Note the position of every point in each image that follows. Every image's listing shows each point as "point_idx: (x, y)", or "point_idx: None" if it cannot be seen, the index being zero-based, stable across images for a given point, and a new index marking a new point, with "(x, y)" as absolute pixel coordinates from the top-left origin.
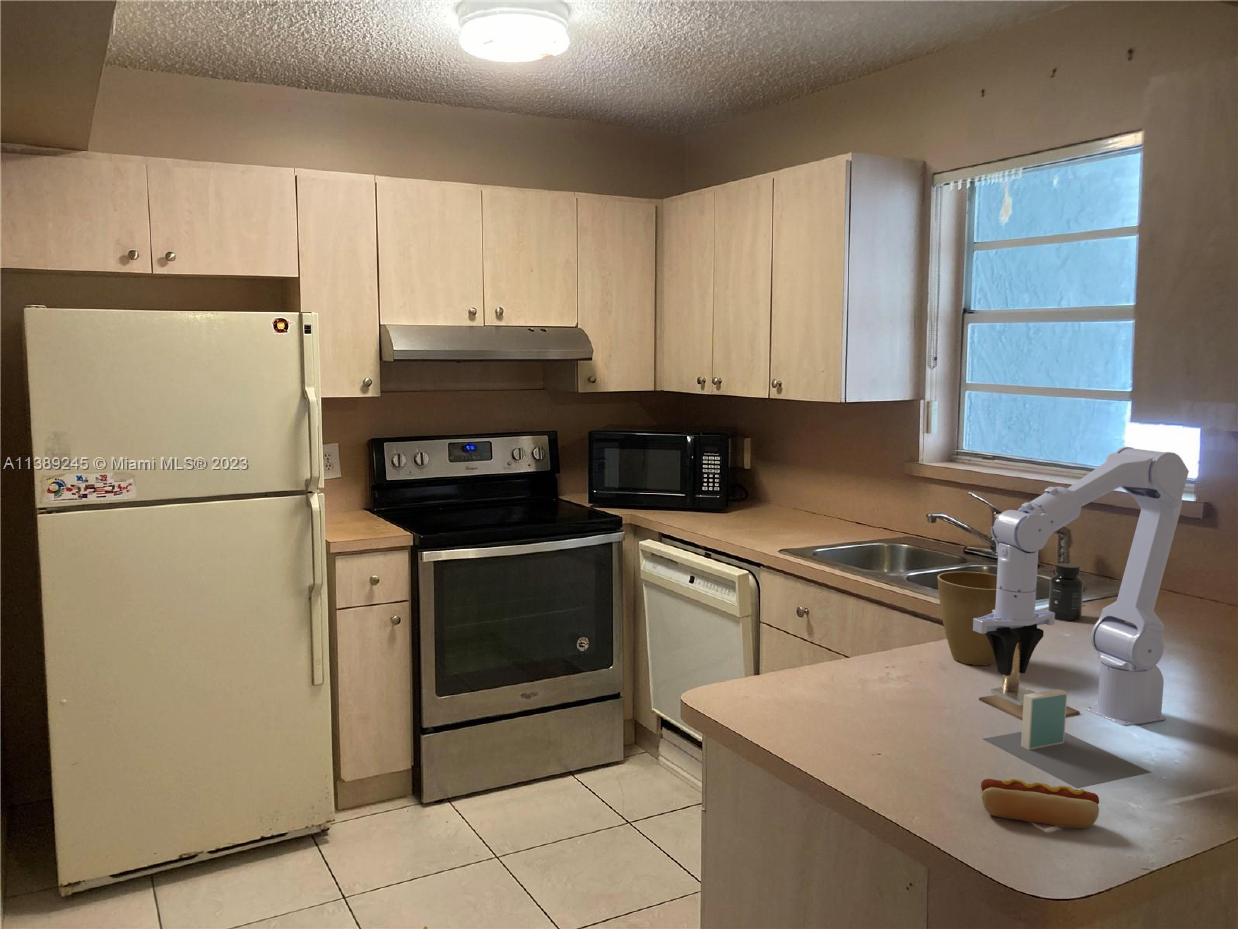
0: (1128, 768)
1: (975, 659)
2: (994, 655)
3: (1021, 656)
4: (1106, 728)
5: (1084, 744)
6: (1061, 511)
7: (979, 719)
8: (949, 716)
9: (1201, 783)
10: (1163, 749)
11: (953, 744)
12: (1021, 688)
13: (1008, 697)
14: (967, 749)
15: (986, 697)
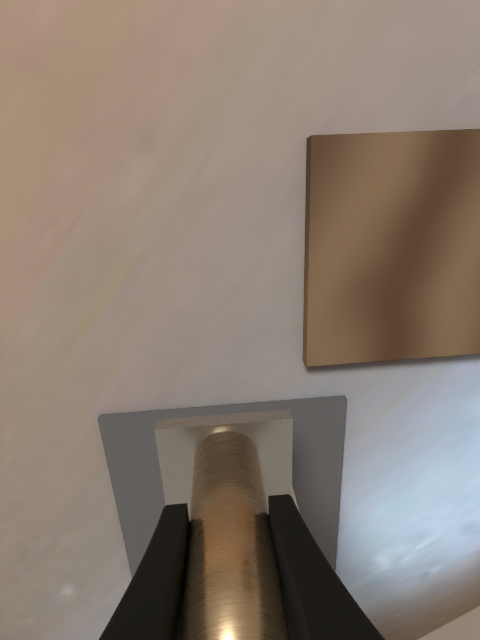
0: None
1: None
2: (124, 595)
3: (291, 637)
4: (474, 425)
5: (325, 498)
6: None
7: (197, 280)
8: (112, 226)
9: (380, 632)
10: (467, 531)
11: (7, 410)
12: (283, 455)
13: None
14: (30, 443)
15: (339, 144)
